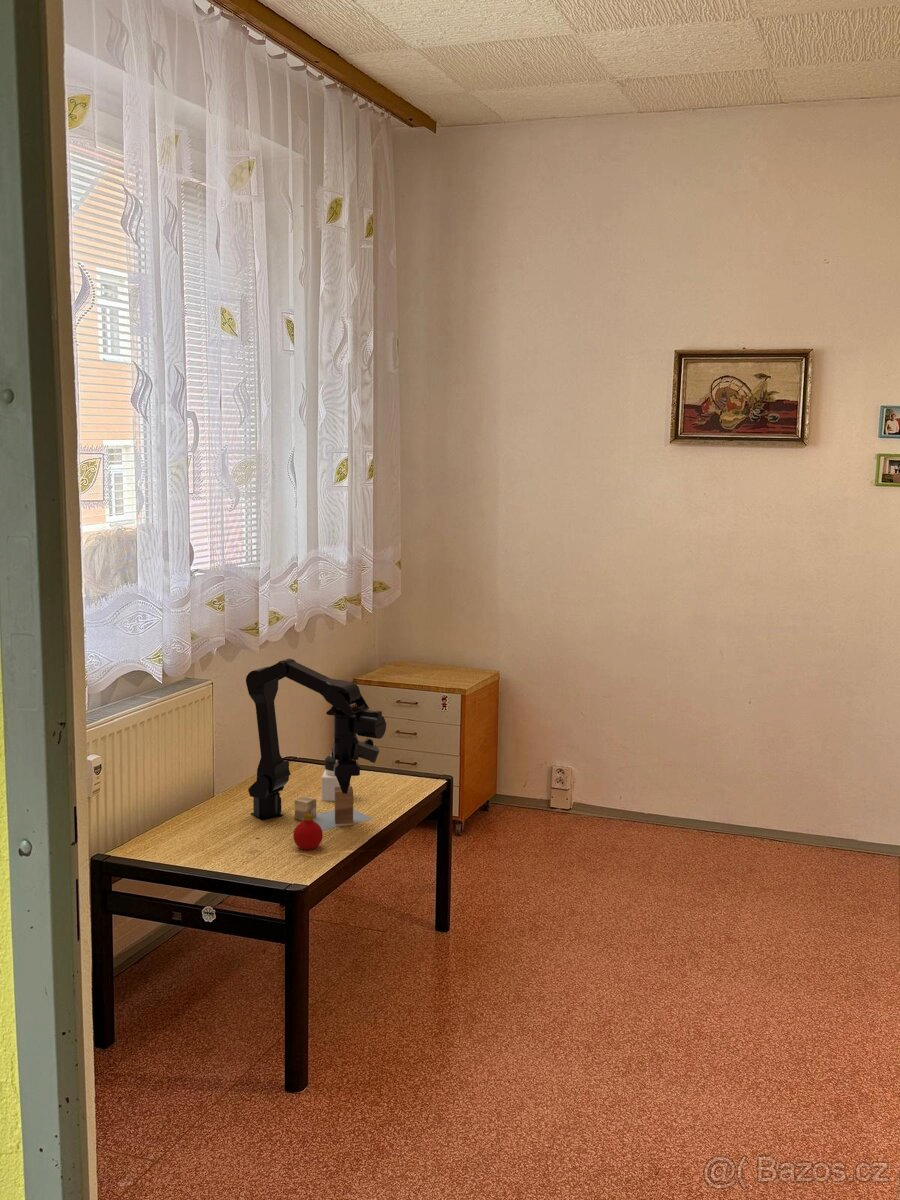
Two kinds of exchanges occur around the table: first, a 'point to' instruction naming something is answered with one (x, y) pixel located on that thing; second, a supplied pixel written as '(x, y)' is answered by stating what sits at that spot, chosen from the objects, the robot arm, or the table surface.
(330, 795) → the medicine bottle
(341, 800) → the walnut block
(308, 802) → the maple block
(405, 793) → the table surface
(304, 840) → the christmas ornament
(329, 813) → the mat
